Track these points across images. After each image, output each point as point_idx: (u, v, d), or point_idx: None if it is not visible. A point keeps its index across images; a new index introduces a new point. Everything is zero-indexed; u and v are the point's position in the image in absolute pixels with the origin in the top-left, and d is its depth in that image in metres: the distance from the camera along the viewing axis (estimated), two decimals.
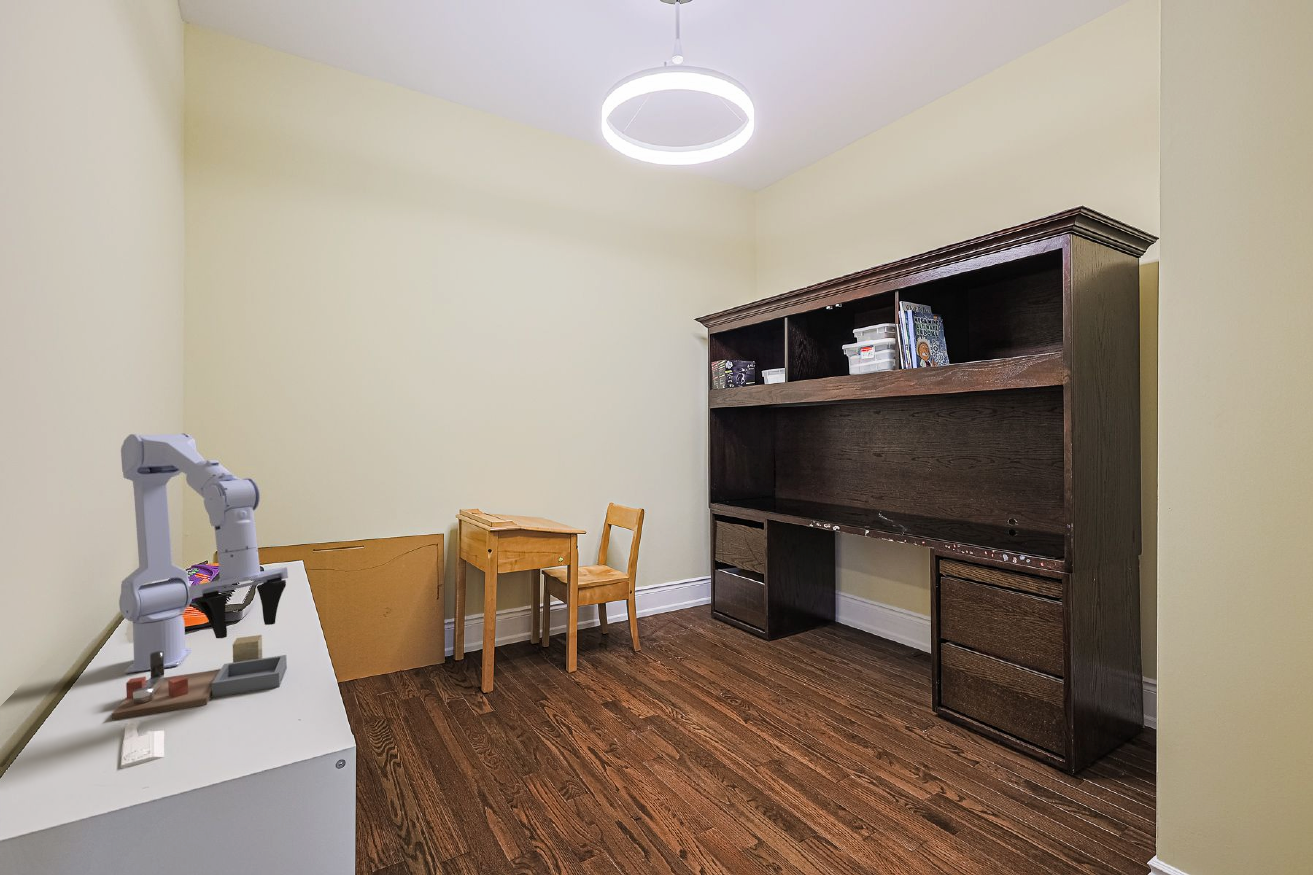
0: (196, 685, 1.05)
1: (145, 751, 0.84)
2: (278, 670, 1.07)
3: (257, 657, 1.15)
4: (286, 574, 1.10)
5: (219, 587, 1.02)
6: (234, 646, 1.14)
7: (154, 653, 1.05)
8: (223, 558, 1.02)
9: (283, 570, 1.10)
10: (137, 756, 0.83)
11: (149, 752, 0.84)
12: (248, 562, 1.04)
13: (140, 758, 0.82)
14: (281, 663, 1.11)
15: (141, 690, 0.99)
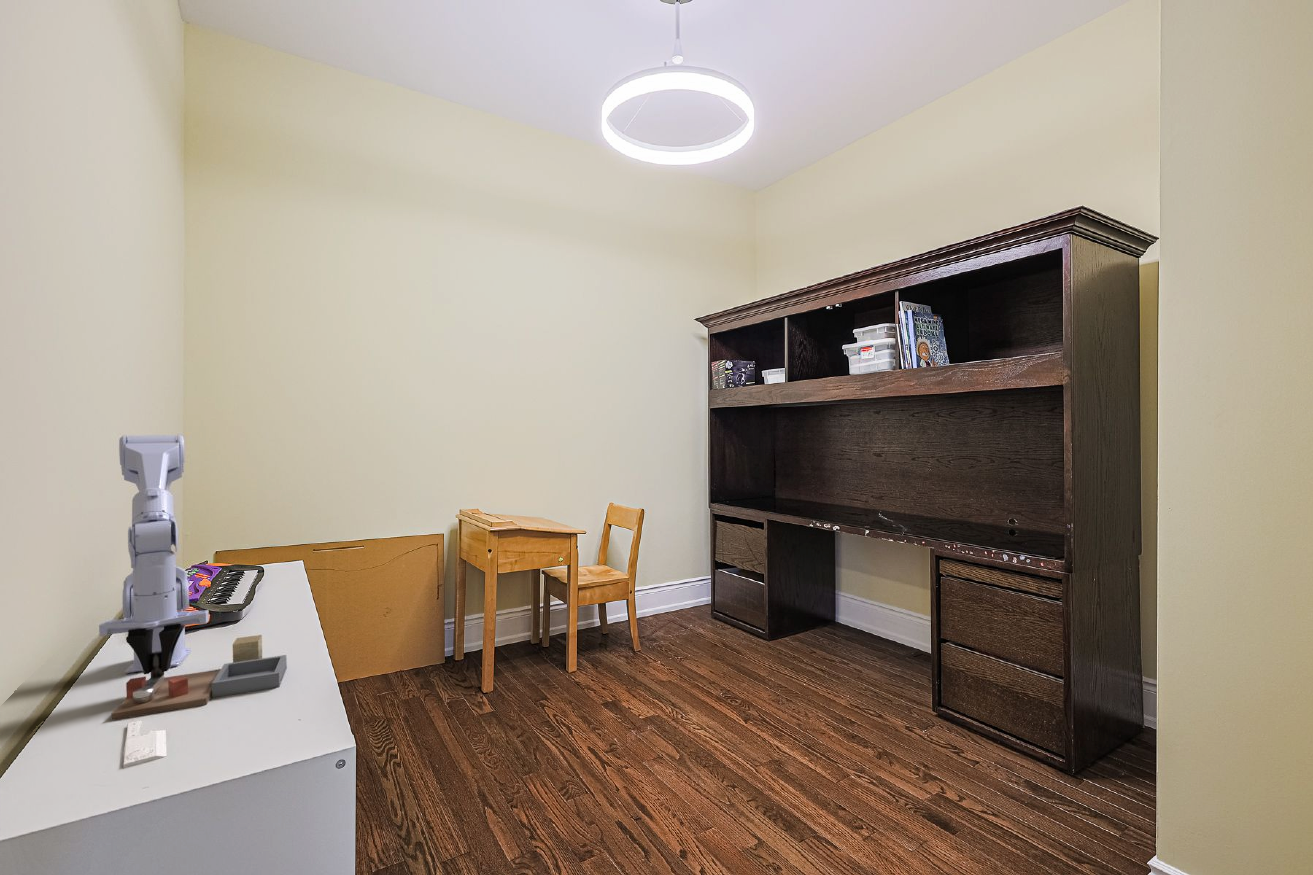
0: (196, 685, 1.05)
1: (147, 750, 0.84)
2: (278, 670, 1.07)
3: (257, 657, 1.15)
4: (204, 620, 1.07)
5: None
6: (234, 646, 1.14)
7: (154, 653, 1.05)
8: (133, 600, 1.03)
9: (200, 616, 1.07)
10: (139, 755, 0.83)
11: (151, 751, 0.84)
12: (150, 608, 1.03)
13: (142, 757, 0.83)
14: (281, 663, 1.11)
15: (141, 690, 0.99)
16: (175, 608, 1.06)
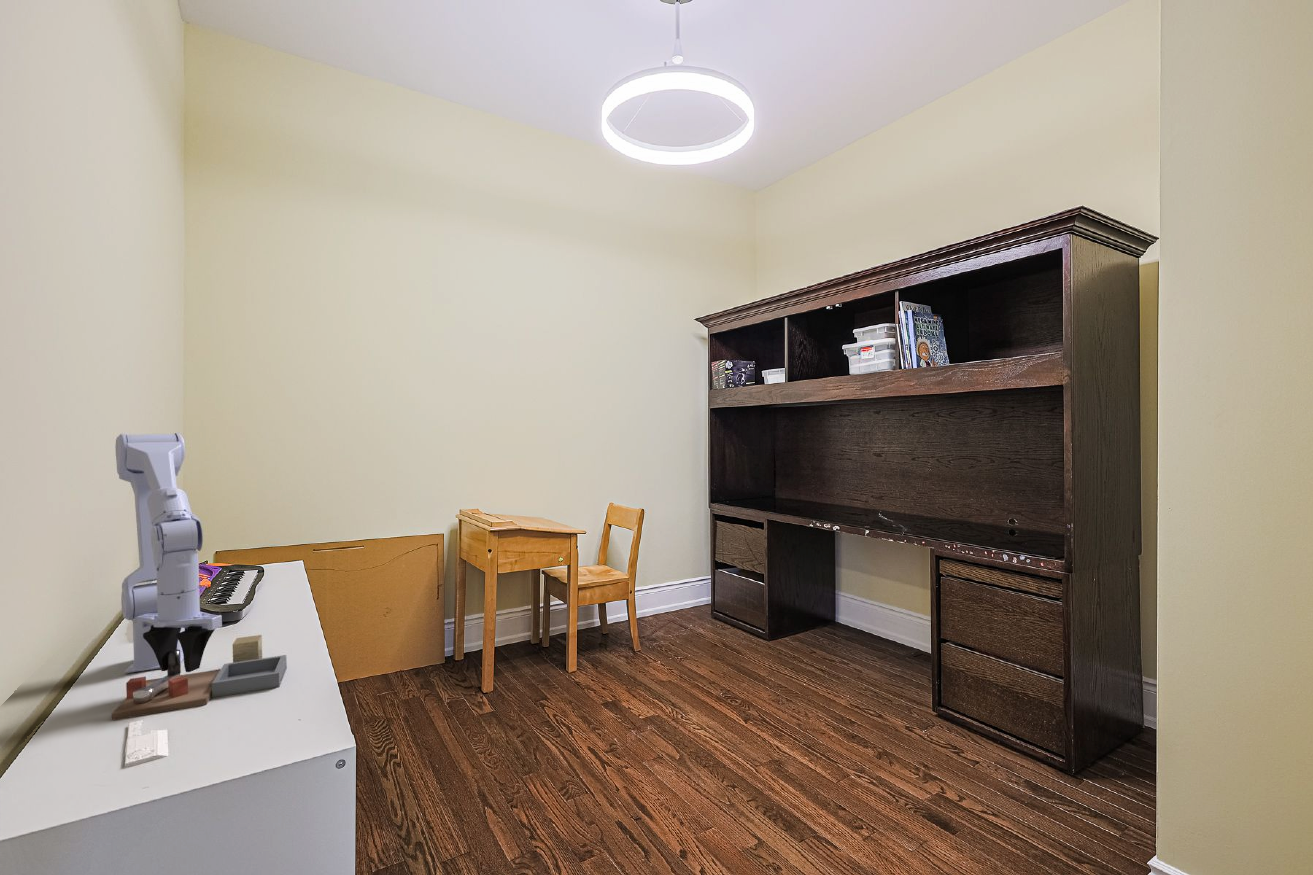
0: (196, 685, 1.05)
1: (149, 750, 0.84)
2: (278, 670, 1.07)
3: (257, 657, 1.15)
4: (210, 626, 1.04)
5: None
6: (234, 646, 1.14)
7: (170, 651, 1.06)
8: None
9: (208, 621, 1.04)
10: (141, 755, 0.83)
11: (153, 751, 0.84)
12: (163, 607, 1.03)
13: (144, 757, 0.83)
14: (281, 663, 1.11)
15: (141, 690, 0.99)
16: (192, 610, 1.05)
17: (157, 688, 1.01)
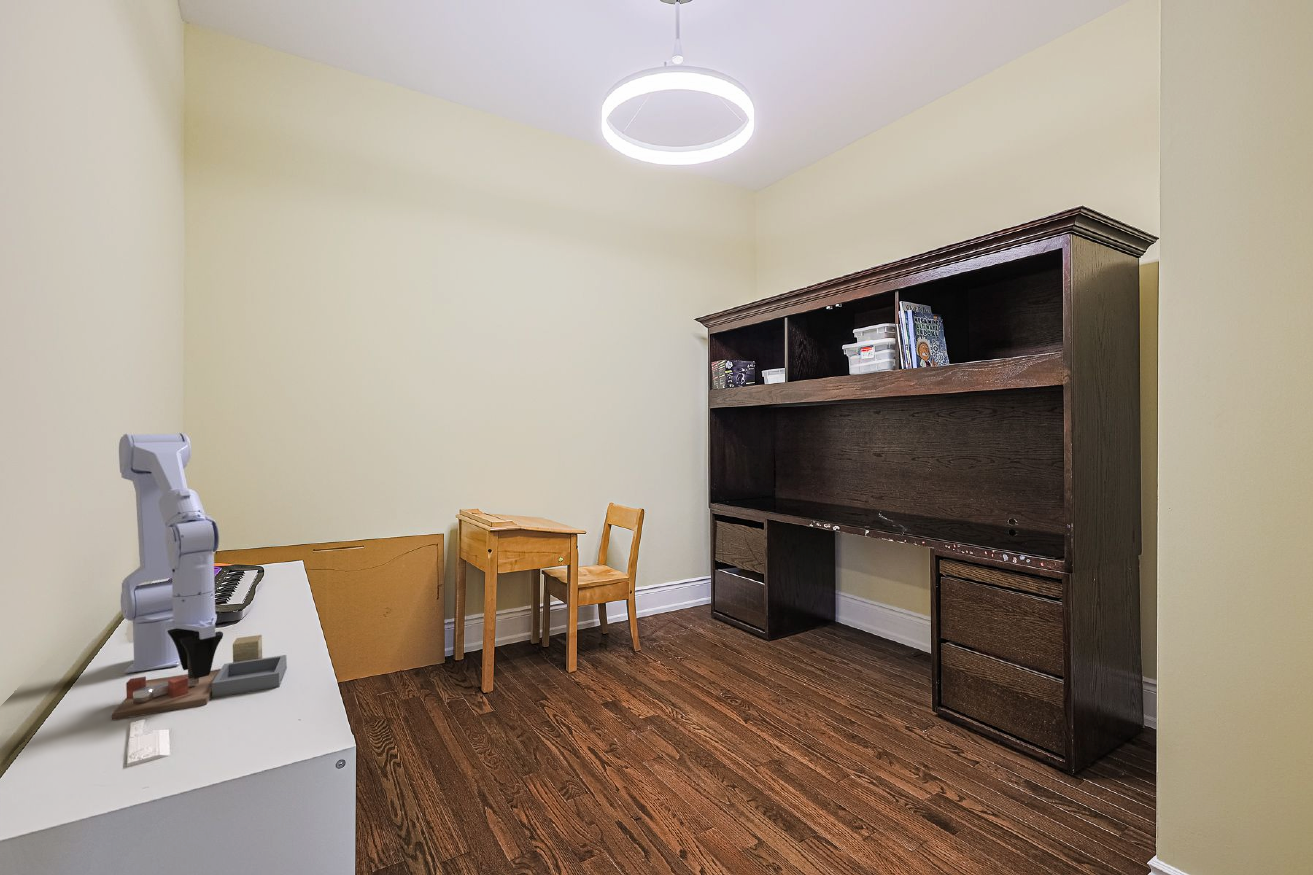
0: (196, 685, 1.05)
1: (151, 749, 0.84)
2: (278, 670, 1.07)
3: (257, 657, 1.15)
4: (200, 635, 0.99)
5: None
6: (234, 646, 1.14)
7: None
8: None
9: (198, 629, 1.00)
10: (143, 754, 0.83)
11: (155, 750, 0.84)
12: (173, 609, 1.02)
13: (146, 756, 0.83)
14: (281, 663, 1.11)
15: (141, 689, 0.99)
16: (197, 614, 1.02)
17: (160, 690, 1.00)
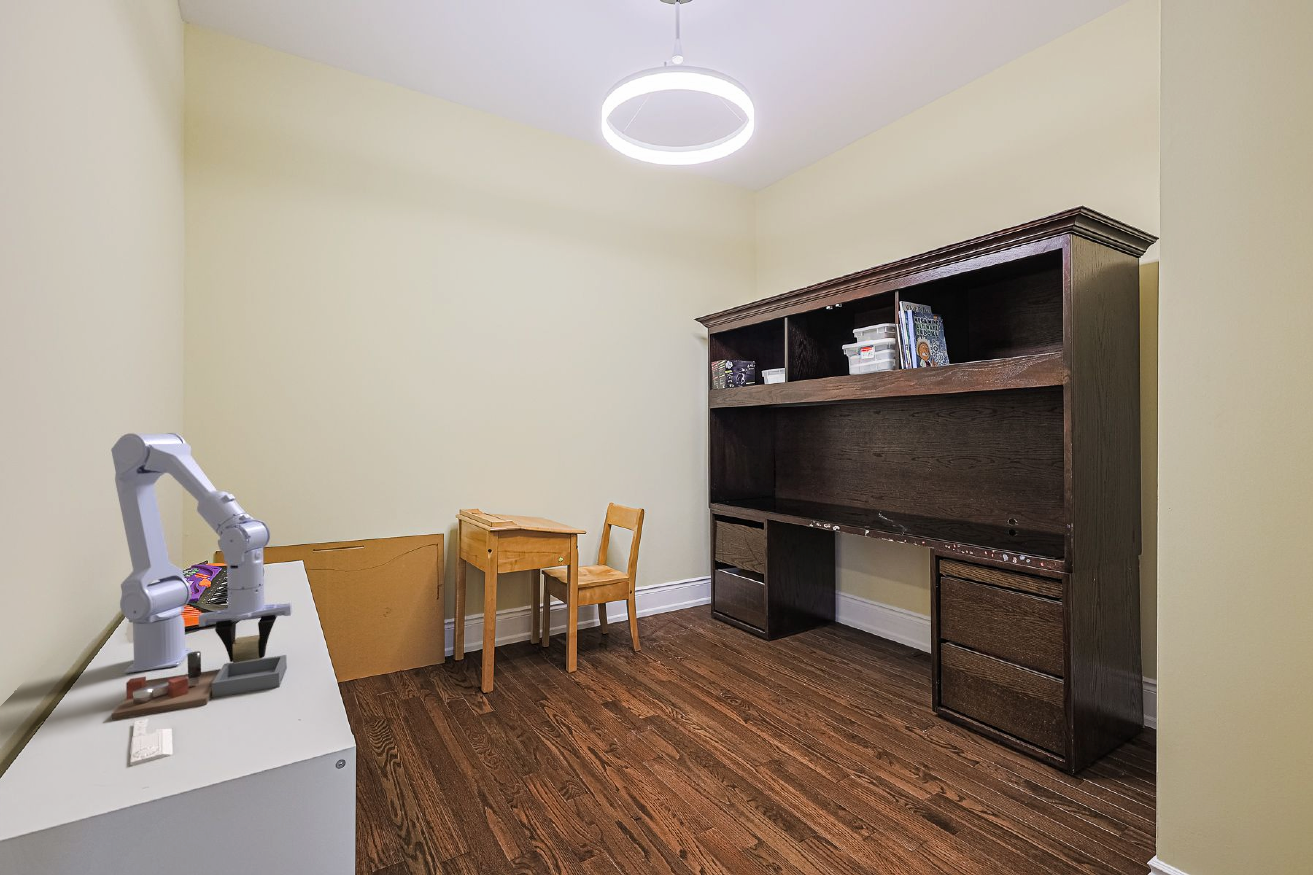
0: (196, 685, 1.05)
1: (154, 749, 0.85)
2: (278, 670, 1.07)
3: (257, 657, 1.15)
4: (289, 612, 1.18)
5: None
6: (234, 646, 1.14)
7: (191, 653, 1.05)
8: None
9: (286, 608, 1.18)
10: (146, 753, 0.84)
11: (158, 750, 0.84)
12: (243, 601, 1.14)
13: (149, 755, 0.83)
14: (281, 663, 1.11)
15: (141, 689, 0.99)
16: (263, 601, 1.17)
17: (160, 690, 1.00)
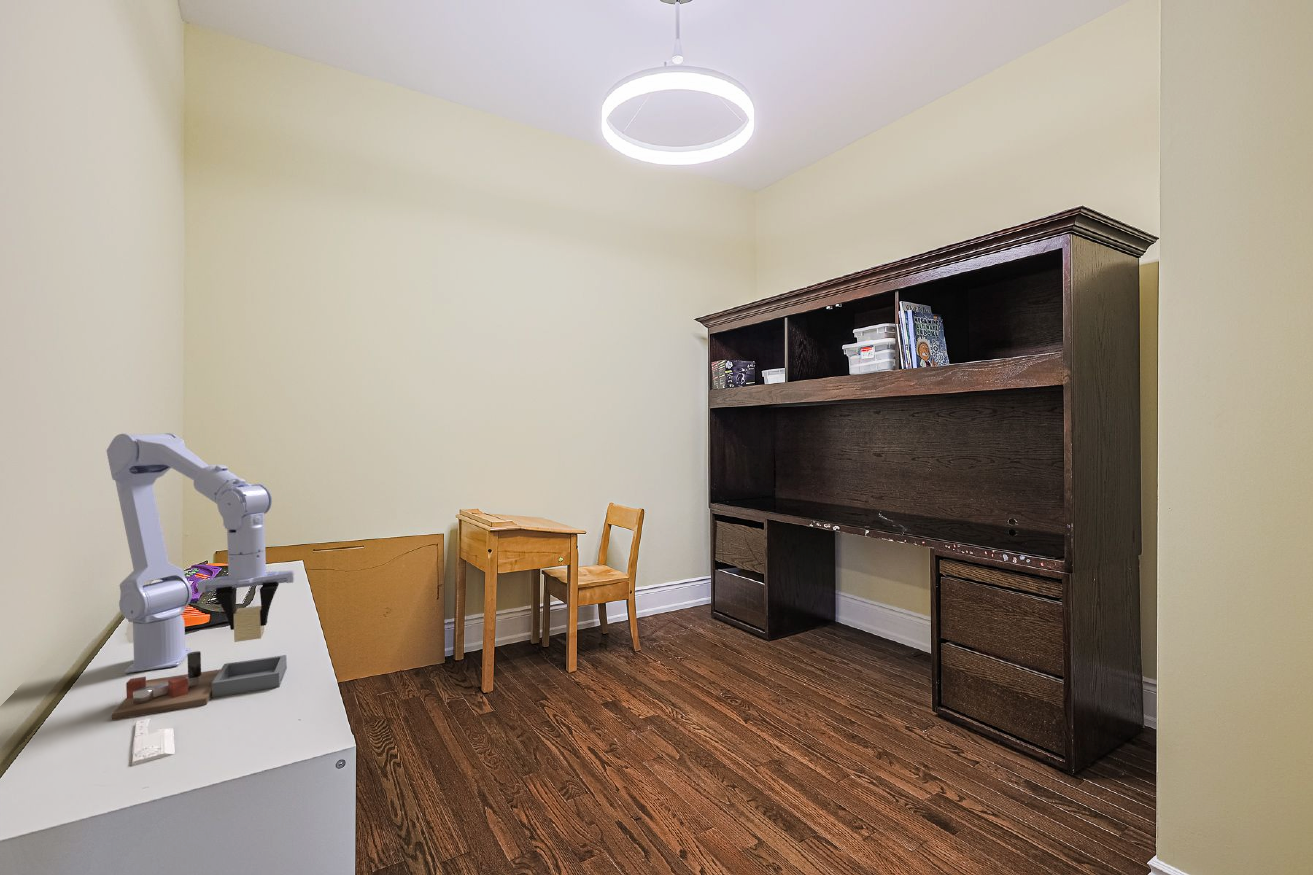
0: (196, 685, 1.05)
1: (156, 748, 0.85)
2: (278, 670, 1.07)
3: (259, 627, 1.12)
4: (291, 579, 1.15)
5: (224, 584, 1.11)
6: (235, 616, 1.10)
7: (191, 653, 1.05)
8: (228, 559, 1.11)
9: (288, 575, 1.15)
10: (148, 753, 0.84)
11: (160, 749, 0.85)
12: (244, 566, 1.10)
13: (151, 755, 0.83)
14: (281, 663, 1.11)
15: (141, 689, 0.99)
16: (265, 568, 1.14)
17: (160, 690, 1.00)
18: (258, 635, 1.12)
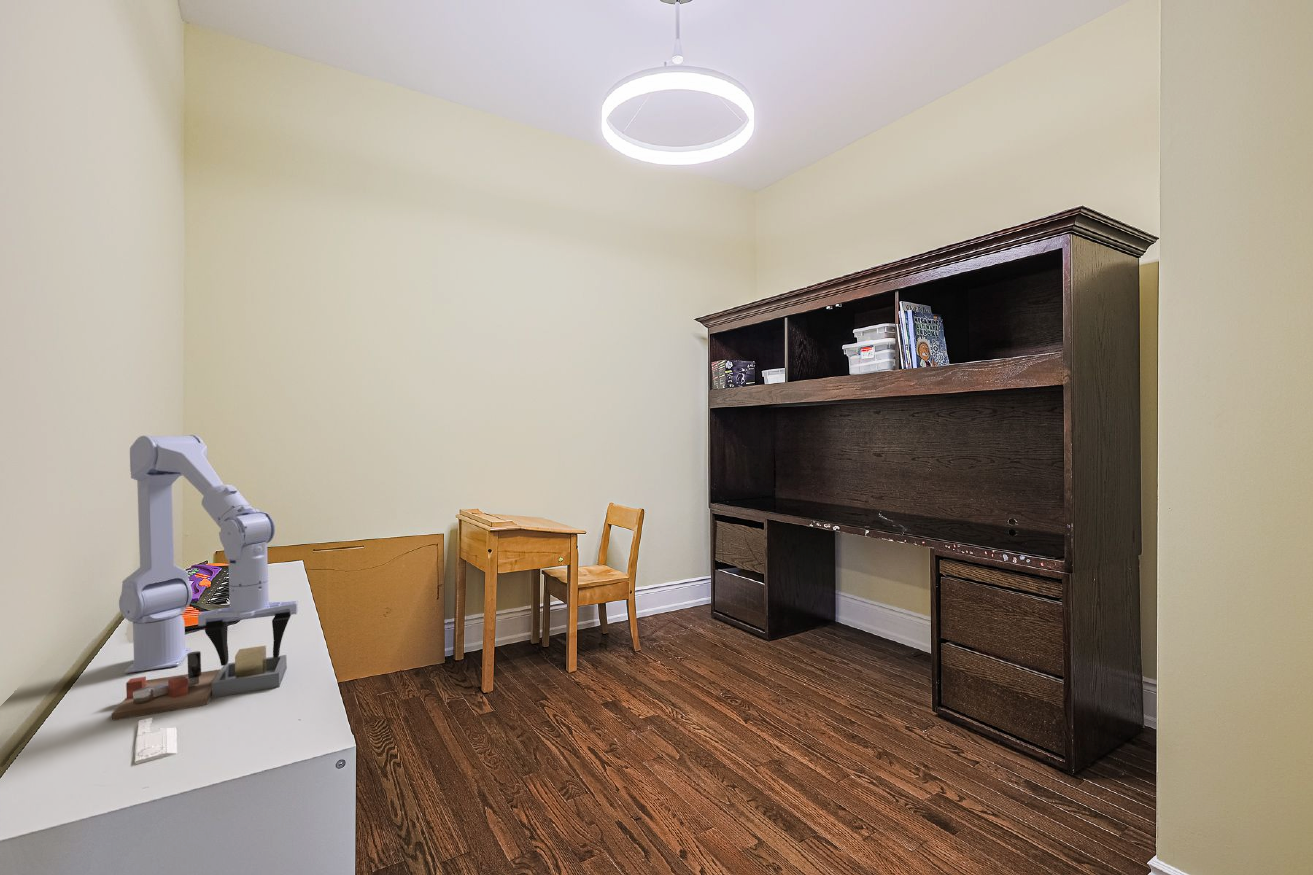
0: (196, 685, 1.05)
1: (158, 747, 0.85)
2: (278, 670, 1.07)
3: (261, 670, 1.08)
4: (295, 610, 1.11)
5: None
6: (236, 658, 1.06)
7: (191, 653, 1.05)
8: (229, 590, 1.07)
9: (291, 606, 1.10)
10: (150, 752, 0.84)
11: (162, 748, 0.85)
12: (246, 598, 1.06)
13: (153, 754, 0.83)
14: (281, 663, 1.11)
15: (141, 689, 0.99)
16: (267, 599, 1.09)
17: (160, 690, 1.00)
18: None
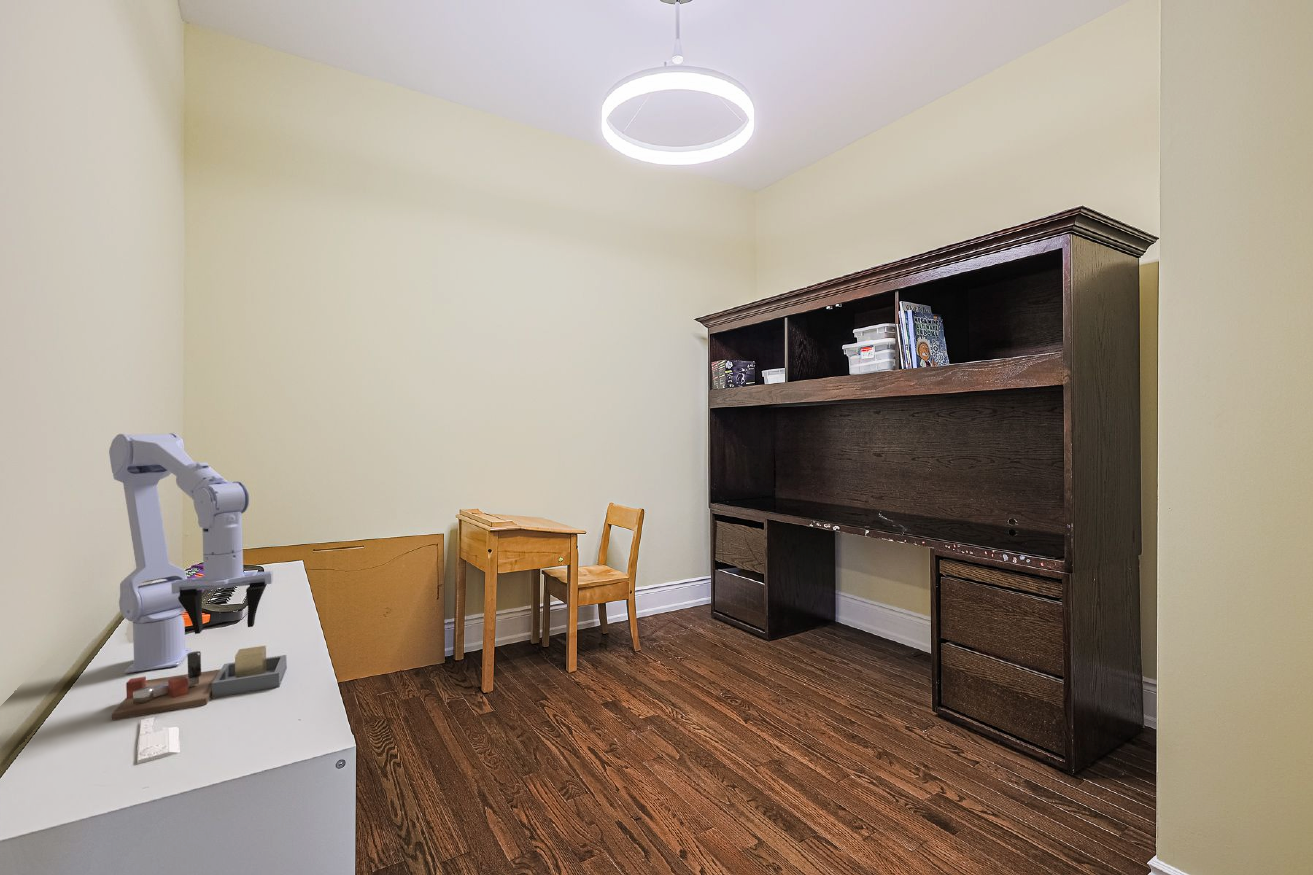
0: (196, 685, 1.05)
1: (161, 747, 0.85)
2: (278, 670, 1.07)
3: (261, 670, 1.08)
4: (269, 580, 1.11)
5: (199, 585, 1.07)
6: (236, 658, 1.06)
7: (191, 653, 1.05)
8: (203, 559, 1.07)
9: (266, 576, 1.10)
10: (153, 751, 0.84)
11: (164, 748, 0.85)
12: (220, 567, 1.06)
13: (156, 753, 0.83)
14: (281, 663, 1.11)
15: (141, 689, 0.99)
16: (242, 568, 1.10)
17: (160, 690, 1.00)
18: None
